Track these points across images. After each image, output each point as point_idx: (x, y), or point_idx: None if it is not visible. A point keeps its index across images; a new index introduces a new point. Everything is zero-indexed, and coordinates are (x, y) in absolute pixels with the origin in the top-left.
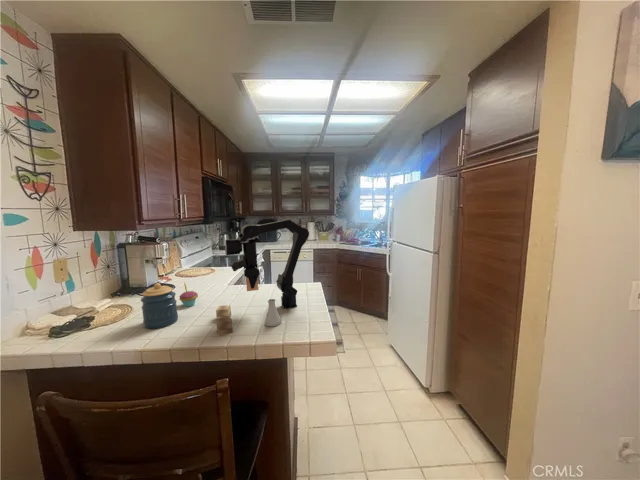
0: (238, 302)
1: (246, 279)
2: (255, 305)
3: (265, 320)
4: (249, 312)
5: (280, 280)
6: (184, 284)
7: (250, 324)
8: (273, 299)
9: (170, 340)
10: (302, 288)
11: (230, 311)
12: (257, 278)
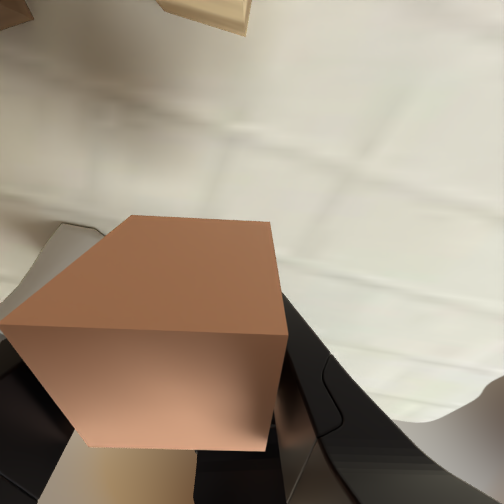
0: (474, 110)
1: (82, 335)
2: (338, 212)
3: (59, 237)
4: (248, 170)
5: (231, 462)
6: None
7: (78, 161)
8: None
9: None
10: (409, 390)
11: (230, 19)
12: (129, 447)
